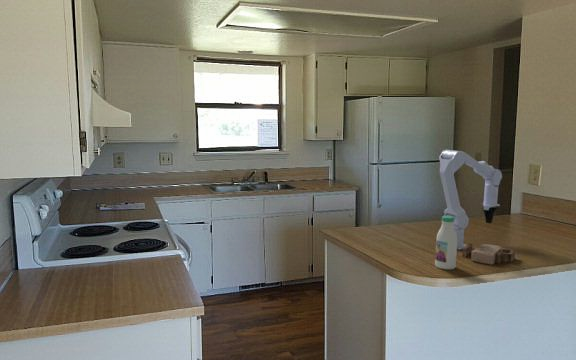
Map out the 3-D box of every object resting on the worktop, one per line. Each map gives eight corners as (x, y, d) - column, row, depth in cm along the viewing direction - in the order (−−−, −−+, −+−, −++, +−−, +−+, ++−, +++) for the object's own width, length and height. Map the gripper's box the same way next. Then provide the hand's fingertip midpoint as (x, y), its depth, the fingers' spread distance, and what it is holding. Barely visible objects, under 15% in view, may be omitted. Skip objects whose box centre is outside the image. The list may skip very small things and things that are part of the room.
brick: (480, 252, 194) (481, 242, 194) (501, 256, 189) (502, 245, 189) (470, 262, 181) (471, 251, 181) (492, 266, 176) (493, 255, 176)
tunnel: (462, 256, 188) (462, 248, 187) (470, 250, 196) (470, 242, 196) (508, 265, 177) (509, 256, 176) (514, 258, 186) (515, 250, 185)
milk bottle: (450, 263, 178) (453, 214, 175) (458, 270, 170) (462, 218, 168) (431, 263, 178) (434, 214, 175) (439, 270, 170) (442, 218, 168)
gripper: (496, 197, 198) (494, 227, 200) (503, 193, 210) (501, 221, 211) (479, 195, 202) (477, 224, 204) (487, 191, 214) (486, 219, 216)
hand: (488, 222), depth 208 cm, fingers closed
